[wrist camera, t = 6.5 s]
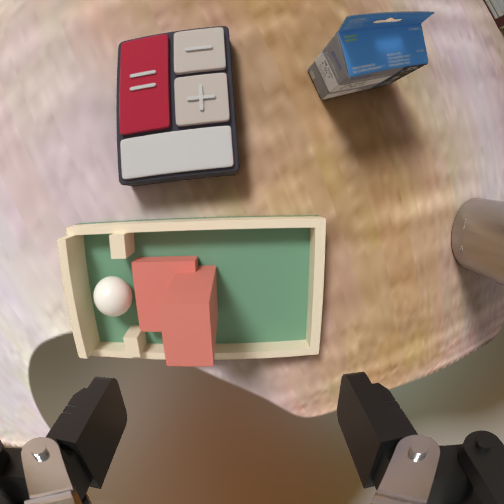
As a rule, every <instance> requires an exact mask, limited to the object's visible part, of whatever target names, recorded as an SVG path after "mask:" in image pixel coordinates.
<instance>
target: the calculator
mask: <svg viewBox="0 0 504 504" xmlns="http://www.w3.org/2000/svg"><path fill="white" fill-rule="evenodd" d="M117 150H118V170H119V182H120V183H121V184H122V185H128V186H139V185H147V184H154V183H162V182H170V181H179V180H188V179H197V178H207V177H217V176H228V175H235V174H237V173H238V171H239V158H238V145H237V133H236V120H235V107H234V94H233V81H232V68H231V54H230V41H229V29H228V27H226V26H218V27H207V28H198V29H190V30H182V31H175V32H169V33H163V34H157V35H151V36H146V37H141V38H136V39H132V40H127V41H123V42H121V43H120V44H119V48H118V67H117Z"/></svg>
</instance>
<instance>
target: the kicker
mask: <svg viewBox="0 0 504 504" xmlns="http://www.w3.org/2000/svg"><path fill="white" fill-rule="evenodd" d="M131 263H132V273H133V282H134V290H135V298H136V305H137V312H138V319H139V326H140V331H144V332H162V339H163V346H164V353H165V359H166V365H167V366H214V356H215V344H216V333H217V322H218V297H217V276H216V265H205V266H198V257H197V256H162V257H137V258H136V259H135V260H134V261H133V262H131Z"/></svg>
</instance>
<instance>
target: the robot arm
mask: <svg viewBox="0 0 504 504" xmlns="http://www.w3.org/2000/svg"><path fill="white" fill-rule="evenodd" d="M451 243H452V250H453V253H454V256H455V258H456V260H457V261H458V263H459V264H460V265H461V266H463V267H464V268H466V269H469V270H471V271H473V272H476V273H478V274H480V275H482V276H484V277H486V278H489V279H491V280H493V281H495V282H498V283H500V284H502V285H504V202H501V201H494V200H487V199H479V198H475V199H471V200H469V201H467V202H466V203H465V204H464V205H463V206H462V207H461V209H460V210H459V211H458V213H457V215H456V218H455V220H454V224H453V228H452V236H451ZM337 416H338V422H339V425H340V427H341V430H342V432H343V435H344V438H345V440H346V443H347V445H348V448H349V451H350V453H351V456H352V458H353V461H354V463H355V466H356V468H357V471H358V474H359V477H360V479H361V482H362V485H363V487H364V488H368V487H372V486H375V488H376V490H377V492H376V494H375V495H374V497H373V499H372V501H371V503H370V504H504V445H503V443H502V442H501V441H500V440H499V438H498V437H497V436H496V435H494V434H492V433H490V432H487V431H476V432H473V433H471V434H469V435H468V436H467V437H466V438H465V440H464V443H463V444H460V445H449V446H439V445H438V444H437V443H436V442H435V441H434V440H433V439H432V438H430V437H427V436H424V435H418V434H417V433H416V431H415V429H414V428H413V426H412V424H411V423H410V421H409V420H408V418H407V417H406V415H405V414H404V412H403V411H402V409H400V406H399V404H398V403H397V402H396V401H395V398H394V397H393V396H392V394H391V392H390V391H389V390H388V389H387V388H385V387H384V386H382V385H381V384H379V383H375V384H372V383H371V382H370V380H369V378H368V377H367V375H366V374H365V372H358V373H351V374H344V375H343V376H342V379H341V386H340V393H339V399H338V406H337ZM126 422H127V413H126V408H125V405H124V402H123V398H122V395H121V391H120V388H119V384H118V382H117V380H116V379H115V378H105V377H95V378H94V379H93V381H92V382H91V384H90V385H89V387H88V388H87V389H86V388H83V389H82V390H80V391H79V392H77V393H76V394H75V395H73V397H72V399H71V400H70V401H69V403H68V406H66V408H65V409H64V410H63V413H62V414H61V415H60V416H59V418H58V419H57V421H56V422H55V424H54V425H53V427H52V429H51V430H50V431H49V433H48V434H47V436H46V437H39V438H34V439H32V440H30V441H28V442H27V443H26V444H25V445H24V446H23V448H22V449H20V448H18V449H17V448H5V447H4V446H3V444H2V442H1V441H0V504H92V502H91V500H90V498H89V496H88V494H87V490H88V488H89V486H90V487H94V488H99V489H101V487H102V485H103V482H104V479H105V476H106V474H107V471H108V469H109V466H110V464H111V461H112V459H113V456H114V454H115V451H116V448H117V446H118V444H119V441H120V439H121V436H122V434H123V431H124V429H125V426H126Z"/></svg>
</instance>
